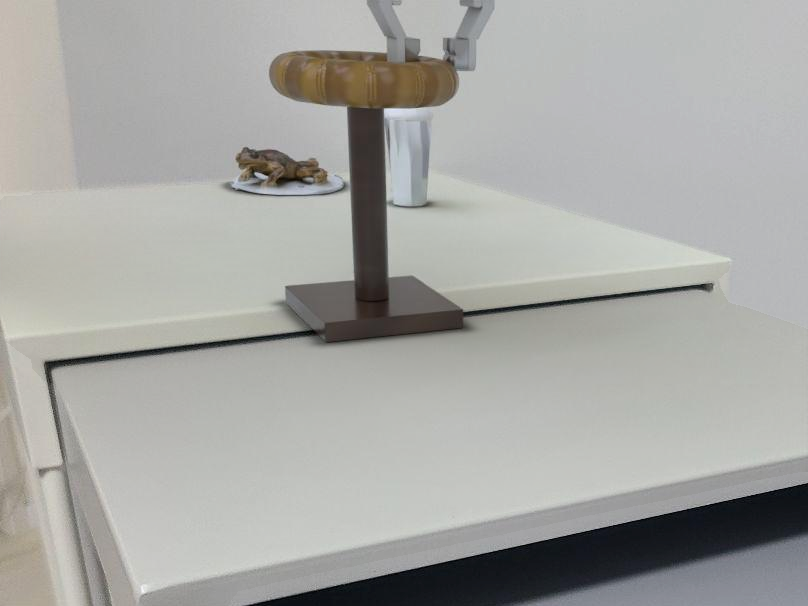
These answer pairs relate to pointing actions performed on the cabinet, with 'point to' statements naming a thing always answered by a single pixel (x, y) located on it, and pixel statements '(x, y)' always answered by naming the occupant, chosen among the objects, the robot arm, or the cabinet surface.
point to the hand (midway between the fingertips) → (431, 70)
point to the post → (370, 259)
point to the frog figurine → (282, 174)
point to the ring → (363, 79)
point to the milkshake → (408, 153)
